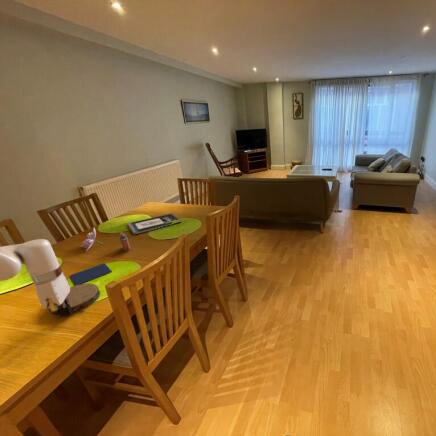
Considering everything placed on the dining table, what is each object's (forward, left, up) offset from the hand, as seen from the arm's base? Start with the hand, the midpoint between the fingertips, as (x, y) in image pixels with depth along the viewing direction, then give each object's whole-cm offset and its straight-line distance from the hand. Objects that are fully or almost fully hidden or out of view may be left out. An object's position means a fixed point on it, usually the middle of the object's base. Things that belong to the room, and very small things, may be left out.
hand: (66, 314), depth 90 cm
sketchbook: (+59, +66, -2) cm, 89 cm away
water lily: (+21, +61, -2) cm, 65 cm away
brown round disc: (+4, +9, -2) cm, 10 cm away
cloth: (+13, +27, -2) cm, 31 cm away
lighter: (+33, +41, -2) cm, 53 cm away
